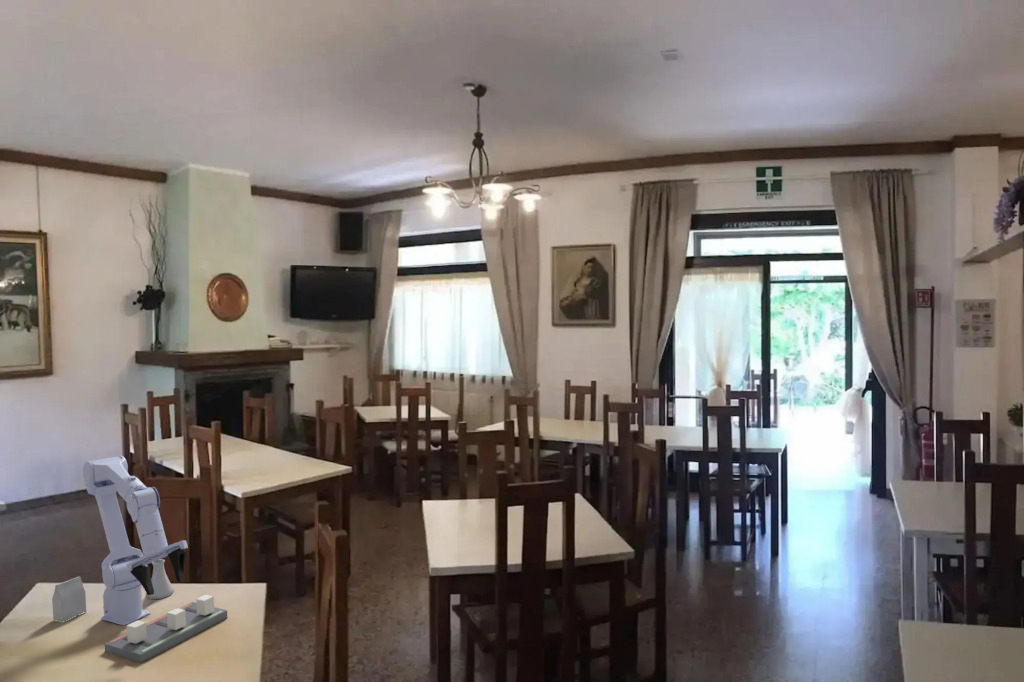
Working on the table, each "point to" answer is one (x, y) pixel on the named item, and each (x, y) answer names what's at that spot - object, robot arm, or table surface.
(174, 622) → the switch middle
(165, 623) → the panel
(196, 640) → the table surface
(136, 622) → the switch
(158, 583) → the flask
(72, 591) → the grey paper bag
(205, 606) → the switch far
